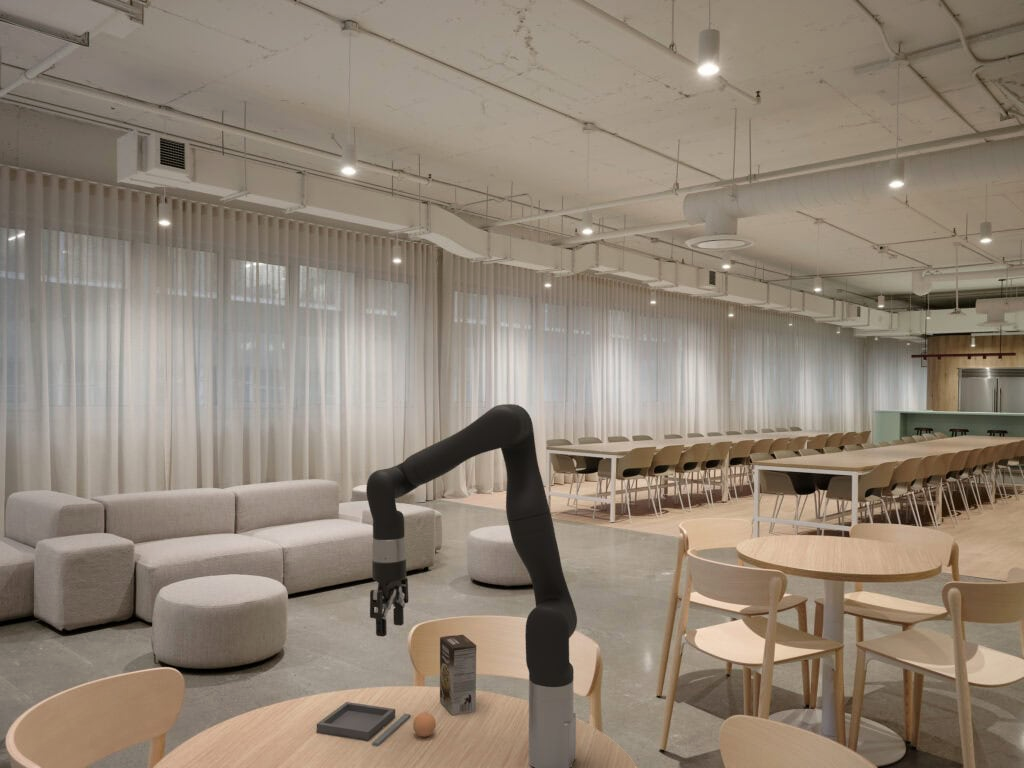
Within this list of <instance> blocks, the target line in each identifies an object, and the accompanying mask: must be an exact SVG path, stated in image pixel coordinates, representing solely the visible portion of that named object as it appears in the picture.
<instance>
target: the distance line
mask: <svg viewBox="0 0 1024 768" xmlns="http://www.w3.org/2000/svg"><path fill="white" fill-rule="evenodd" d="M410 718H411V713H410V714H409V713H404V714H402V715H401V716H400V717H399V718H398V719H397V720H396V721H394V723H392V724H391V725H390V726H389V727H388V728H387V729H386V730H385V731H383V732H382V733H381V734H380V735H379V736H377V738H376V739H374V740H373V741H372V743H371V746H373V747H379V746H380V745H381V744H383V743H384V742H385V741H386V740H387V739H388V738H390V736H392V734H393V733H395V732H396V731H397V730H398V729H399V728H401V726H402V725H403V724H405V723H406V722H407V721H408V720H409V719H410Z"/></svg>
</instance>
